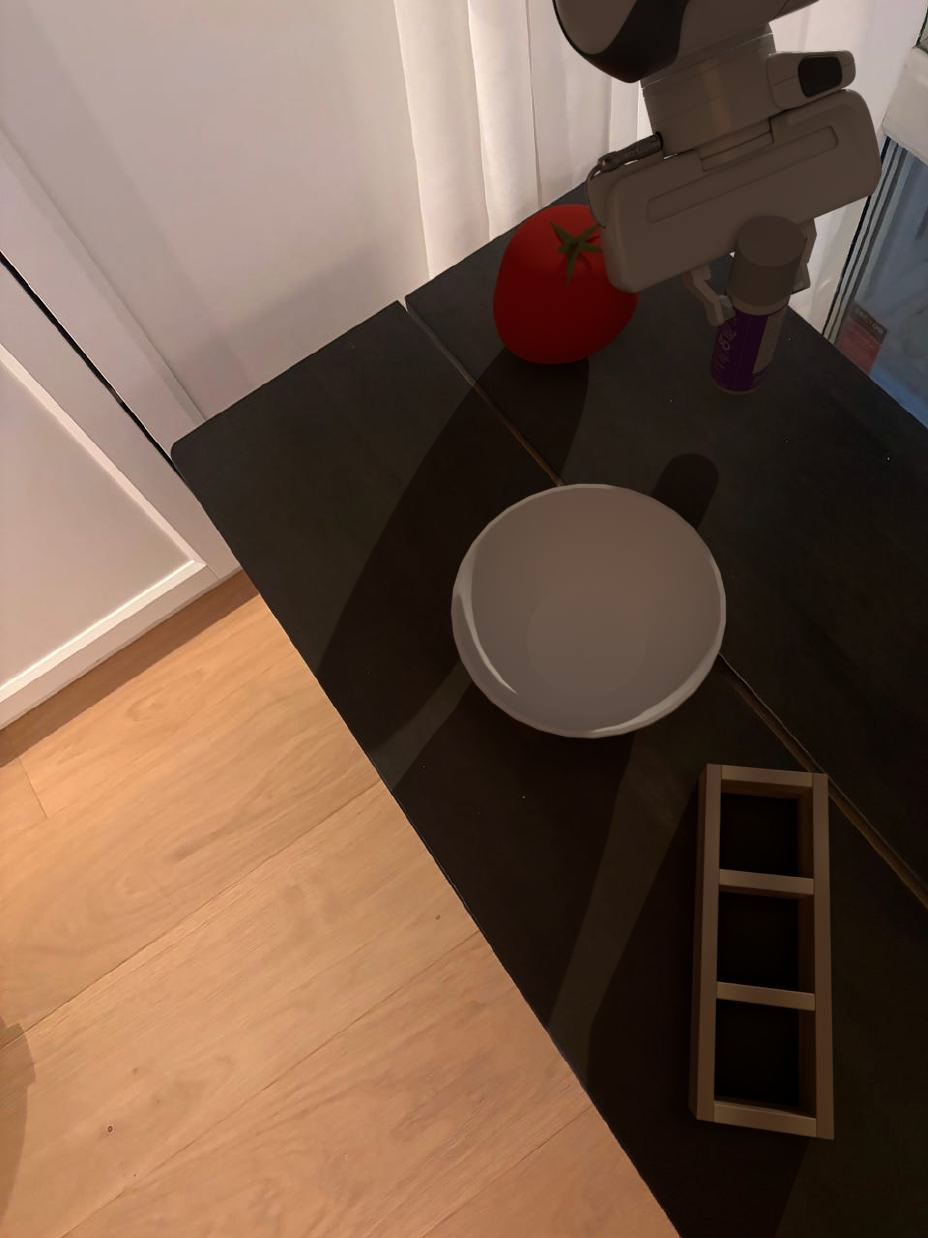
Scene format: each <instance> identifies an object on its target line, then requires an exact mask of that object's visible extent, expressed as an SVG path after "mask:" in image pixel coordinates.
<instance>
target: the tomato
mask: <svg viewBox="0 0 928 1238" xmlns="http://www.w3.org/2000/svg"><path fill="white" fill-rule="evenodd" d="M640 294H641V291H639V292H634V293H628V292H623V291H621V290H619V289H617V288H616V287H614V286H613V285H612V284H611V283H610V281H609V278H608V275H607V271H606V267H605V262H604V257H603V252H602V246H601V239H600V231H599V225H598V224H597V223H596V222H595V221H594V219H593V218H592V216H591V214H590V210H589V207H588V205H586V204H560V205H554V206H551V207H547V208H545V209H543V210H541V211H539V212H537V213H536V214H533V215H532V216H531V217H529V218H528V219H527V220H526V221H524V222H523V223H522V224H521V225H520V226H519V227H518V228H517V230H515V232H514V233H513V235H512V236H511V238H510V240H509V241H508V244H507V245H506V247H505V249H504V253H503V255H502V257H501V261H500V263H499V267H498V273H497V277H496V282H495V286H494V291H493V299H492V314H493V321H494V324H495V328H496V331H497V334H498V336H499V338H500V341H501V343H502V344H503V345H504V347H505V348H506V349H508V350H509V351H510V352H511V353H512V354H514V355H516V356H517V357H518V358H520V359H522V360H525V361H527V362H529V363H535V364H541V365H561V364H570V363H573V362H577V361H581V360H583V359H586V358H588V357H591V356H592V355H594V354H596V353H597V352H599V351H601V350H603V349H605V348H607V347H608V346H609V345H610V344H611V343H612V342H614V341H615V340H616V339H617V338H618V337H619V335H621V333H622V332H623V331H624V329H625V328H626V327H627V326H628V324H629V323H630V322H631V319H632V318H633V316H634V314H635V313H636V309H637V307H638V302H639V300H640Z"/></svg>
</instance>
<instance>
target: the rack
mask: <svg viewBox="0 0 928 1238" xmlns="http://www.w3.org/2000/svg"><path fill="white" fill-rule="evenodd" d="M828 781H829V776H828V774H826V773H816V772H813V773H812V772H806V771H792V770H782V769H772V768H761V767H760V768H759V767H749V766H748V767H747V766H737V765H724V764H715V763H706V764H705V766H704V767H703V769H702V771H701V773H700V774H699V777H698V782H697V783H698V787H697V819H696V820H697V821H696V849H695V851H696V852H695V879H694V880H695V882H694V883H695V885H694V912H693V913H694V916H693V917H694V918H693V946H692V947H693V948H692V949H693V951H692V979H691V983H692V985H691V1007H690V1009H691V1010H690V1011H691V1013H690V1043H689V1044H690V1045H689V1076H688V1077H689V1078H688V1109H689V1110H690V1112H691V1113H692V1114H693V1116H694V1118H695V1119H696V1120H697V1121H704V1122H710V1123H716V1124H723V1125H731V1126H737V1127H743V1128H750V1129H756V1130H757V1129H758V1130H762V1131H770V1132H776V1133H784V1134H790V1135H797V1136H803V1137H810V1138H817V1139H823V1140H829V1141H830V1140H831V1141H834V1140H835V1121H834V1119H835V1118H834V1117H835V1116H834V1115H835V1113H834V1061H833V1059H834V1058H833V1056H834V1055H833V1053H834V1052H833V1006H832V1005H833V1004H832V1003H833V1002H832V944H831V941H832V940H831V891H830V890H831V889H830V888H831V886H830V885H831V884H830V831H829V829H830V827H829V826H830V825H829V823H830V822H829V782H828ZM721 793H722V794H733V795H742V796H743V795H744V796H753V797H763V798H764V797H765V798H776V799H786V800H787V799H788V800H796V801H797V807H796V808H797V809H796V811H797V814H796V815H797V816H796V817H797V819H796V821H797V822H796V823H797V825H796V826H797V827H796V829H797V837H796V839H797V877H796V876H789V875H779V874H768V873H760V872H759V873H758V872H751V871H750V872H749V871H743V870H742V871H741V870H733V869H722V868H720V845H721V843H720V838H721V837H720V836H721V801H722V800H721V796H722V794H721ZM719 892H724V893H732V894H742V895H749V896H750V895H751V896H759V897H768V898H778V899H785V900H786V899H787V900H795V901H797V957H798V958H797V977H798V978H797V981H798V982H797V983H798V984H797V985H798V986H797V987H798V989H797V990H798V991H794V990H787V989H781V988H780V989H779V988H771V987H764V986H763V987H762V986H756V985H748V984H739V983H733V982H732V983H731V982H723V981H717V977H718V975H717V973H718V971H717V970H718V968H717V967H718V964H717V963H718V934H719V933H718V931H719V930H718V929H719V927H718V925H719ZM717 999H719V1000H725V1001H732V1002H740V1003H748V1004H756V1005H763V1006H764V1005H765V1006H772V1007H778V1008H779V1007H780V1008H785V1009H787V1008H788V1009H794V1010H798V1012H797V1013H798V1106H795V1105H789V1104H781V1103H774V1102H767V1101H760V1100H754V1099H748V1098H747V1099H746V1098H741V1097H733V1096H726V1095H719V1094H715V1064H716V1063H715V1062H716V1061H715V1060H716V1059H715V1058H716V1022H717V1021H716V1020H717V1019H716V1018H717V1017H716V1015H717V1014H716V1013H717Z"/></svg>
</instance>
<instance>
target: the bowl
mask: <svg viewBox="0 0 928 1238" xmlns="http://www.w3.org/2000/svg"><path fill="white" fill-rule="evenodd" d="M724 587H725V586H724V584H723V579H722V575H721V571H720V569H719V566H718V565H717V563H716V561H715V559H714V556H713V554H712V552H711V550H710V548H709V547H708V546H707V544H706V542H705V541H704V540H703V539H702V537H701V536H700V535H699V533H698V532H697V531H696V529H695V528H694V527H693V526H692V525H691V524H690V523H689V522H688V521H687V520H685V518H683V517H682V516H681V515H680V514H679V513H678V512H676V511H675V510H673V509H672V508H670V507H668V506H667V505H665V504H664V503H662V502H660V501H659V500H657V499H655V498H654V497H652V496H649V495H646V494H643V493H640V492H639V491H635V490H633V489H630V488H626V487H620V486H615V485H610V484H606V483H605V484H604V483H576V484H575V483H573V484H568V485H564V486H563V485H562V486H556V487H552V488H549V489H546V490H543V491H540V492H537V493H534V494H531V495H529V496H527V497H525V498H523V499H521V500H520V501H518V502H516V503H514V504H513V505H510V506H509V507H507V508H506V509H505V510H503V511H502V512H501V513H499V515H497V516H496V517H494V519H493V520H491V521H490V522H489V523H488V524H487V525H486V526H485V527H484V529H483V530H482V531H481V532H480V533H479V534H478V536H477V537H476V538H475V539H474V540H473V542H472V543H471V545H470V547H469V548H468V550H467V552H466V553H465V555H464V557H463V559H462V561H461V563H460V564H459V569H458V572H457V574H456V578H455V581H454V584H453V587H452V596H451V597H452V598H451V608H450V618H451V626H452V636H453V639H454V643H455V646H456V648H457V652H458V655H459V657H460V660H461V662H462V664H463V666H464V667H465V669H466V671H467V673H468V675H469V676H470V678H471V680H472V681H473V683H474V684H475V685H476V687H478V689H479V690H480V691H481V692H482V693H483V694H484V695H485V696H486V697H487V699H488V700H489V702H491V704H493V705H495V706H496V707H498V709H500V710H502V711H503V712H505V713H506V714H507V715H508V716H510V717H511V718H513V719H515V721H519V722H520V723H523V724H525V725H527V726H529V727H531V728H534V729H536V730H538V731H541V732H545V733H549V734H553V735H557V736H560V737H561V736H562V737H565V738H578V739H601V738H607V737H614V736H622V735H625V734H628V733H631V732H634V731H638V730H640V729H643V728H647V727H649V726H651V725H653V724H655V723H656V722H658V721H660V720H661V719H663V718H664V717H666V716H668V715H670V714H672V713H673V712H674V711H676V710H677V709H679V707H680V706H682V705H683V704H684V703H685V702H686V701H687V700H688V699H689V698H690V697H691V696H693V694H695V693H696V691H697V690H698V688H699V687H700V686H701V684H702V683H703V682H704V680H705V679H706V677H707V676H708V675H709V673H710V672H711V670H712V668H713V666H714V663H715V661H716V659H717V657H718V655H719V652H720V650H721V647H722V645H723V644H722V643H723V638H724V634H725V629H726V623H727V603H726V602H727V600H726V599H727V598H726V597H727V596H726V592H725V588H724Z"/></svg>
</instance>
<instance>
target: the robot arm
mask: <svg viewBox="0 0 928 1238" xmlns="http://www.w3.org/2000/svg"><path fill="white" fill-rule="evenodd" d="M820 1H821V0H551V2H552V6H553V11H554V14H555V17H556V20H557V23H558V25H559V28H560V30H561V33H562V34H563V36H564V38H565V40H566V41H567V42H568V44H569V45H570V47H571V48H572V49H573V50H574V51H575V52H576V53H577V54H578V55H579V56H581V57H582V59H584V60H585V61H586V62H588V63H589V64H590V65H591V66H593V67H594V68H596V69H598V70H599V71H601V72H602V73H604V74H606V75H608V76H610V77H612V78H614V79H616V80H618V81H620V82H622V83H625V84H635V83H637V82H639V84H640V89H642V90H641V91H642V93H641V94H642V97H643V98H644V99H643V100H644V105H645V107H646V112H647V117H648V120H649V124H650V129H651V132H652V134H651V135H648V136H646V137H644V138H641V139H638V140H636V141H634V142H632V143H631V144H629V145H627V146H626V147H623V148H622V149H618V150H613V151H610V152H607V153H605V154H603V155H602V156H601V157H599V158H598V159H597V161H596V164H595V166H593V167H592V168H591V170H590V171H589V172H588V174H587V176H586V179H585V182H584V197H585V199H586V203H587V206H588V207H589V210H590V214H591V216H592V218H593V219H594V221H595V222H596V223H597V224H598V225H599V231H600V239H601V246H602V252H603V257H604V262H605V267H606V271H607V275H608V278H609V281H610V283H611V284H612V285H613V286H614V287H616V288H617V289H619V290H621V291H623V292H628V293H634V292H639V291H640V292H641V291H644V290H647V289H648V288H649V289H650V288H652V287H654V286H657V285H658V284H660V283H663V282H666V281H669V280H670V279H673V278H675V277H678V276H681V281H682V284H683V287H684V288H685V289H687V290H688V291H689V292H690V293H691V294H692V295H693V296H694V297H695V298H697V300H698V301H700V302H701V303H703V307H704V310H705V315H706V318H707V321H708V323H709V325H710V326H712V327H718V326H719V325H722V324H724V323H726V322H728V321H731V320H733V319H735V318H736V313H735V310H734V309H733V301H732V297H731V296H729V295H727V296H725V294H719V295H718V293H716V292H715V291H714V289H713V288H711V286H710V285H709V284H708V283H707V282H706V281H708V280H710V279H711V278H712V277H713V275H712V272H711V267H710V263H711V262H714V261H716V260H719V259H722V258H723V257H726V256H728V255H730V254H734V252H735V248H736V244H737V240H738V236H739V233H740V231H741V230H742V228H743V227H744V226H745V225H746V224H747V223H749V222H750V221H752V220H754V219H756V218H759V217H763V216H779V217H783V218H786V219H789V220H791V221H792V222H794V223H795V224H796V225H797V226H798V227H799V228H800V229H801V231H802V233H803V235H804V247H803V251H802V255H801V259H800V263H799V266H798V270H797V274H796V278H795V282H794V285H793V289H792V293H791V296H793V295H795V294H797V293H800V292H803V291H805V290H808V289H810V288H811V285H812V284H811V283H812V282H811V277H810V272H809V267H808V264H809V263H810V260H811V256H812V253H813V251H814V250H813V249H814V247H815V243H816V239H817V236H818V232H817V226H816V221H815V219H817V218H819V217H821V216H824V215H827V214H829V213H832V212H834V211H836V210H839V209H841V208H843V207H847V206H848V205H850V204H853V203H855V202H857V201H860V200H862V199H865V198H867V197H869V196H872V195H874V194H875V192H876V190H877V188H878V185H879V184H880V182H881V177H882V174H883V167H882V166H883V165H882V159H881V153H880V148H879V143H878V139H877V134H876V130H875V125H874V122H873V119H872V114H871V112H870V109H869V106H868V104H867V102H866V99H864V97H863V96H862V95H861V94H860V93H859V92H858V91H856V90H854V89H851V88H847V87H849V86H851V84H852V83H853V82H854V81H855V79H856V76H857V67H856V60H855V57H854V55H853V53H852V51H850V50H847V49H827V50H825V49H824V50H792V51H791V50H787V51H785V50H780V51H777V48H776V44H775V38H774V34H773V30H772V28H771V25H770V23H771V22H774V21H777V20H779V19H781V18H784V17H786V16H788V15H791V14H794V13H796V12H799V11H801V10H803V9H805V8H808V7H810V6H812V5H814V4H816V3H818V2H820ZM598 172H599V173H601V175H598V176H596V174H597V173H598ZM595 176H596V177H595Z"/></svg>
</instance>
